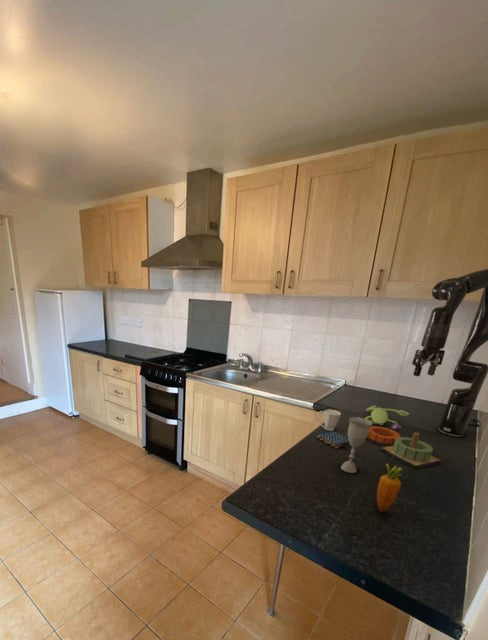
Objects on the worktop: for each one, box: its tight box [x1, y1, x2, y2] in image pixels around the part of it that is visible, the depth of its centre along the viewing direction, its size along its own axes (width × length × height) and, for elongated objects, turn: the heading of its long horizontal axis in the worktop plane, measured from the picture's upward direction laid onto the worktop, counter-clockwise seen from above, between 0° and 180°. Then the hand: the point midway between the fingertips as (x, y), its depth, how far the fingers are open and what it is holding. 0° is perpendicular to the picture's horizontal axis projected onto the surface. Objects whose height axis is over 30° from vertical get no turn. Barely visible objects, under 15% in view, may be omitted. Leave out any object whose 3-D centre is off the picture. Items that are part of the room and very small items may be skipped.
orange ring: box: [367, 425, 401, 445], centre depth 138 cm, size 12×12×4 cm
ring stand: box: [381, 431, 441, 466], centre depth 124 cm, size 14×14×10 cm
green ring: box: [392, 436, 434, 462], centre depth 125 cm, size 12×12×4 cm
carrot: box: [376, 463, 403, 514], centre depth 90 cm, size 5×5×15 cm
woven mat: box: [316, 431, 349, 449], centre depth 135 cm, size 10×11×2 cm
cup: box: [315, 408, 342, 432], centre depth 147 cm, size 7×10×8 cm
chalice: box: [340, 416, 373, 474], centre depth 112 cm, size 7×7×18 cm
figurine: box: [357, 405, 410, 430], centre depth 159 cm, size 18×27×6 cm
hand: (423, 375), depth 134 cm, fingers open, 8 cm apart
